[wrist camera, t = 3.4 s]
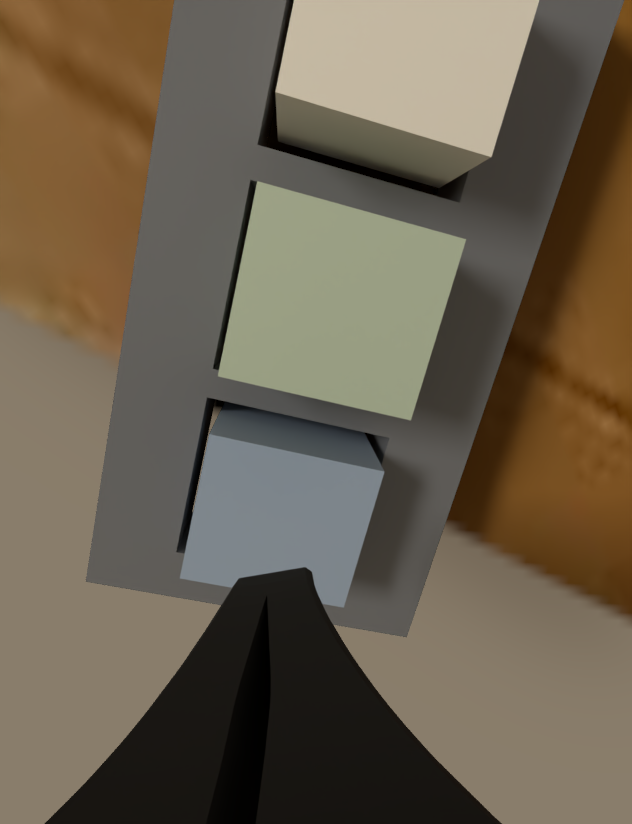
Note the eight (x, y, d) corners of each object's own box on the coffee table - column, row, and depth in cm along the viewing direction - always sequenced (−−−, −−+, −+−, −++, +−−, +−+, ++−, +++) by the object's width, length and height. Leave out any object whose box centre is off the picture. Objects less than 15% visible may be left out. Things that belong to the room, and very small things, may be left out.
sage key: (421, 249, 14) (466, 239, 10) (381, 387, 15) (411, 420, 11) (264, 206, 13) (257, 181, 10) (233, 353, 14) (217, 376, 11)
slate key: (363, 430, 16) (384, 471, 12) (331, 541, 17) (343, 607, 13) (225, 399, 15) (208, 434, 12) (201, 515, 16) (179, 578, 13)
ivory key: (487, 19, 12) (563, -79, 9) (439, 188, 13) (491, 157, 10) (315, -39, 12) (327, -166, 8) (277, 141, 13) (275, 91, 9)
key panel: (578, 4, 14) (643, -57, 11) (390, 588, 18) (406, 637, 16) (223, -120, 13) (207, -219, 10) (114, 537, 17) (85, 581, 15)
